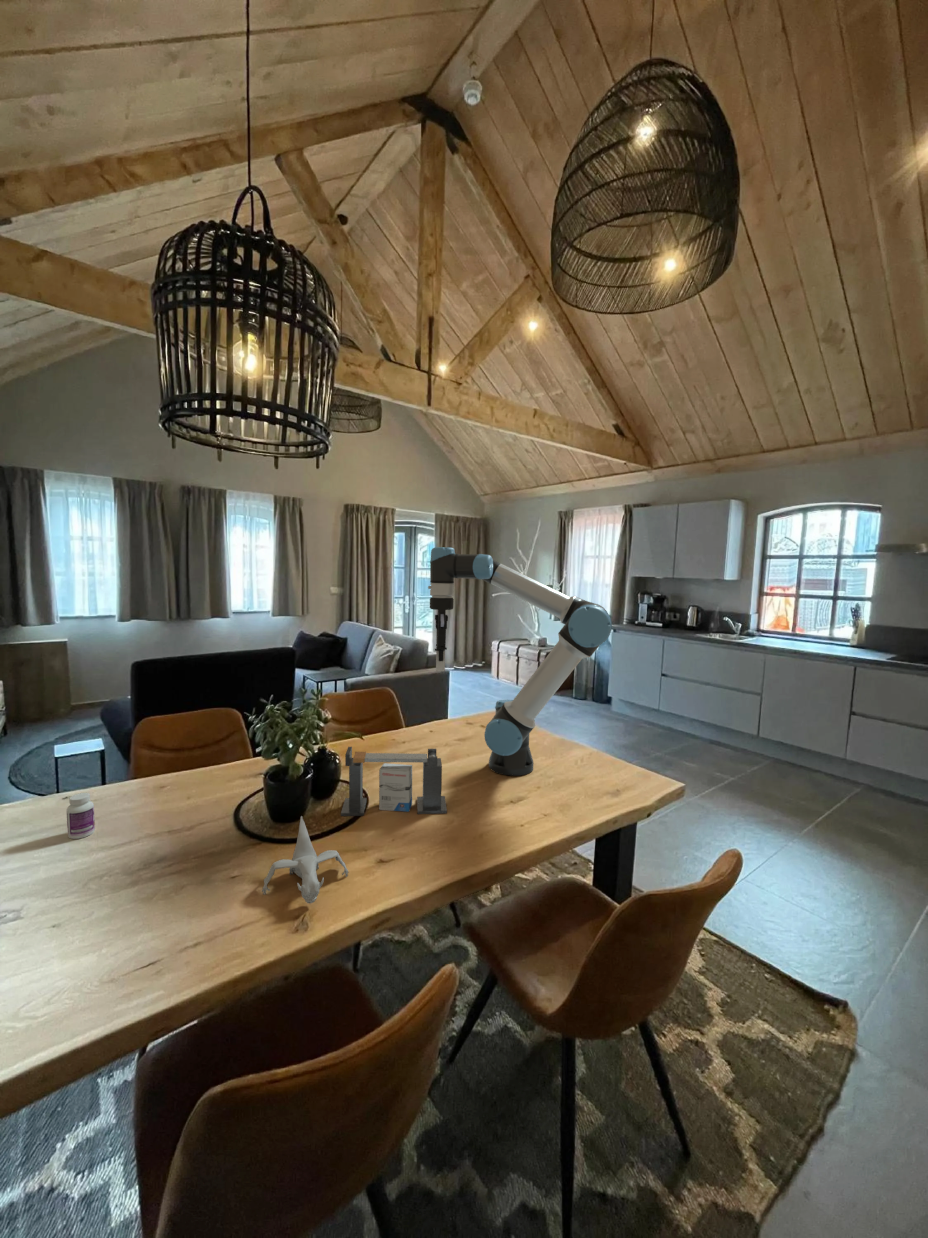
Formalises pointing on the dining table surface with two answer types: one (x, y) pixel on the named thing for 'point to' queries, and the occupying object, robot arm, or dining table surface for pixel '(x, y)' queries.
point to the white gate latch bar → (389, 757)
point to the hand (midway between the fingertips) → (440, 670)
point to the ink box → (395, 787)
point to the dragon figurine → (305, 865)
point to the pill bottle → (80, 816)
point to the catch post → (354, 788)
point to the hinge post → (432, 787)
